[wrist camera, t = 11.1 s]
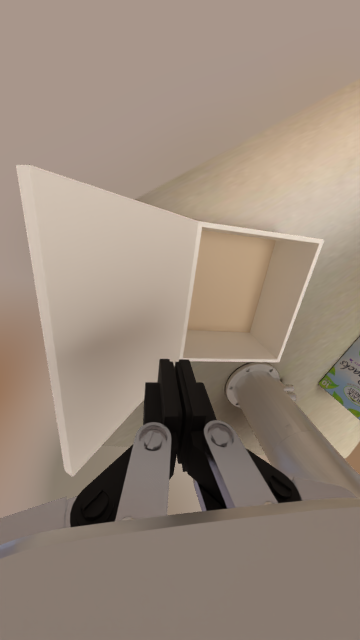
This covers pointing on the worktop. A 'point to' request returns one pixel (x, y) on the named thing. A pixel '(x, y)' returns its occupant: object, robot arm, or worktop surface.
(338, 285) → the worktop surface
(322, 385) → the snack box
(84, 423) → the carton lid
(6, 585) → the robot arm
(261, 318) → the carton
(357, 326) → the worktop surface
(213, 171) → the worktop surface
